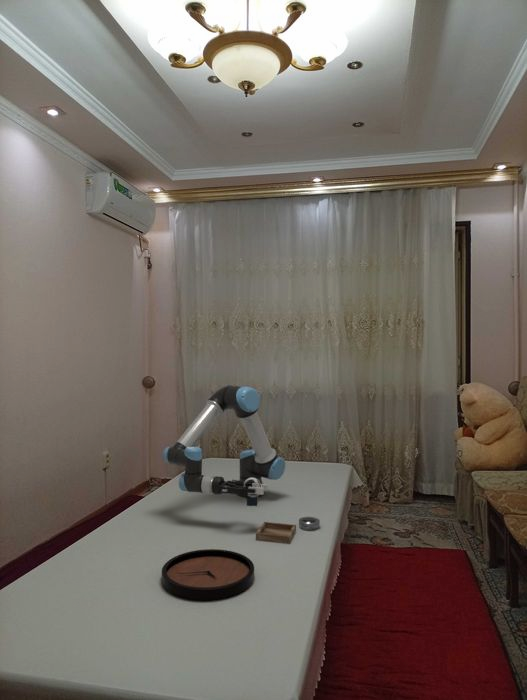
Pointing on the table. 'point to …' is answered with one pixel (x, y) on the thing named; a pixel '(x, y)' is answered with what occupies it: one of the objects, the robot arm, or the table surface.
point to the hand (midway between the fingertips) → (265, 489)
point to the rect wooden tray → (276, 532)
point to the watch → (253, 498)
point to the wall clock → (208, 575)
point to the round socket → (309, 523)
